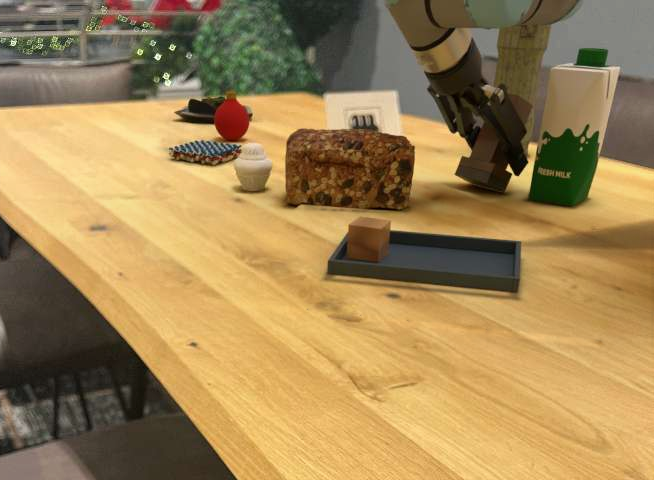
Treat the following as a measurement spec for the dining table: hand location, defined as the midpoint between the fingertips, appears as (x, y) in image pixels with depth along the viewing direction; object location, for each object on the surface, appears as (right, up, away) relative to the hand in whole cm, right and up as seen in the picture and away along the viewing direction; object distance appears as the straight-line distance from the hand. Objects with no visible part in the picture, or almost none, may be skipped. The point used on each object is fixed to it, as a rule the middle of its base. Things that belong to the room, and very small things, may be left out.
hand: (504, 164), depth 123 cm
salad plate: (-51, +34, +54) cm, 82 cm away
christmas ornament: (-46, +19, +33) cm, 60 cm away
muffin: (-41, -4, -1) cm, 41 cm away
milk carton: (+7, -7, -4) cm, 11 cm away
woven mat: (-50, +9, +18) cm, 54 cm away
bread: (-26, -9, -7) cm, 28 cm away
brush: (-4, -3, -1) cm, 6 cm away
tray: (-19, -26, -32) cm, 46 cm away
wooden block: (-26, -24, -30) cm, 47 cm away
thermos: (+7, +12, +24) cm, 27 cm away
